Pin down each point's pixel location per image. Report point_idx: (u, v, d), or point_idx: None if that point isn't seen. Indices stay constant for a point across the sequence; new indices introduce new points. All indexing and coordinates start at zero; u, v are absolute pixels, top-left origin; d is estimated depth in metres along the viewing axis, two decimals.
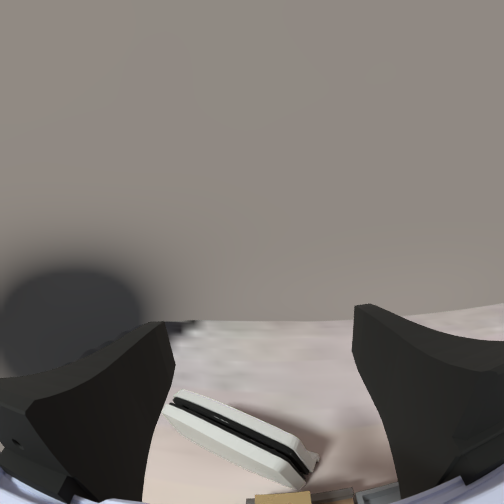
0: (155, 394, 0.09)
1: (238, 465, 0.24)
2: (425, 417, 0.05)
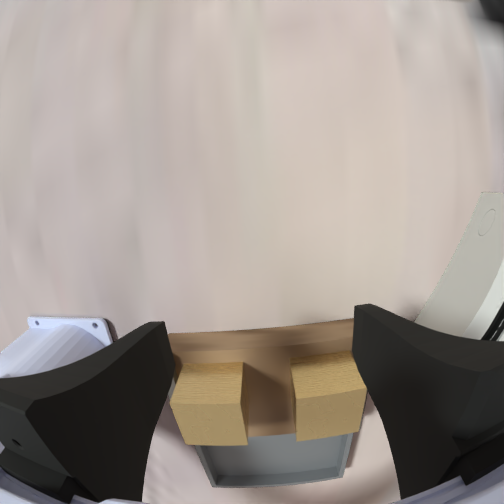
0: (155, 394, 0.09)
1: (435, 293, 0.19)
2: (425, 417, 0.05)
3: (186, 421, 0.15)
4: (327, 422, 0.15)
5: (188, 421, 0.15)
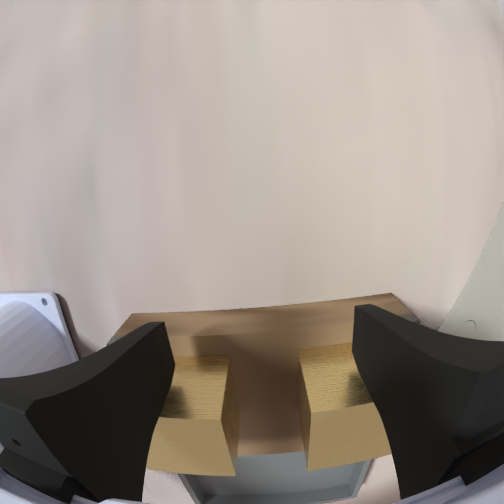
0: (155, 394, 0.09)
1: (481, 262, 0.13)
2: (425, 417, 0.05)
3: None
4: (355, 444, 0.09)
5: None
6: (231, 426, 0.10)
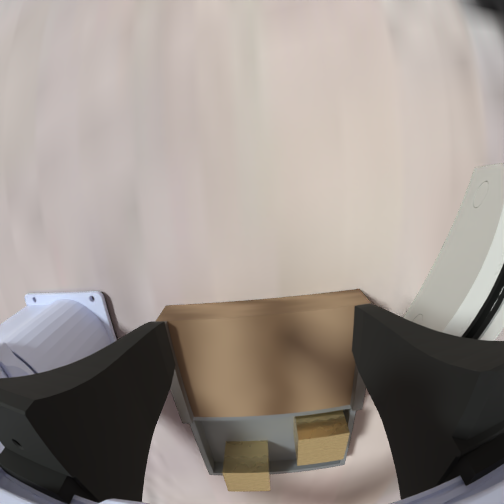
0: (155, 394, 0.09)
1: (433, 269, 0.19)
2: (425, 417, 0.05)
3: None
4: None
5: None
6: None
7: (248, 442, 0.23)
